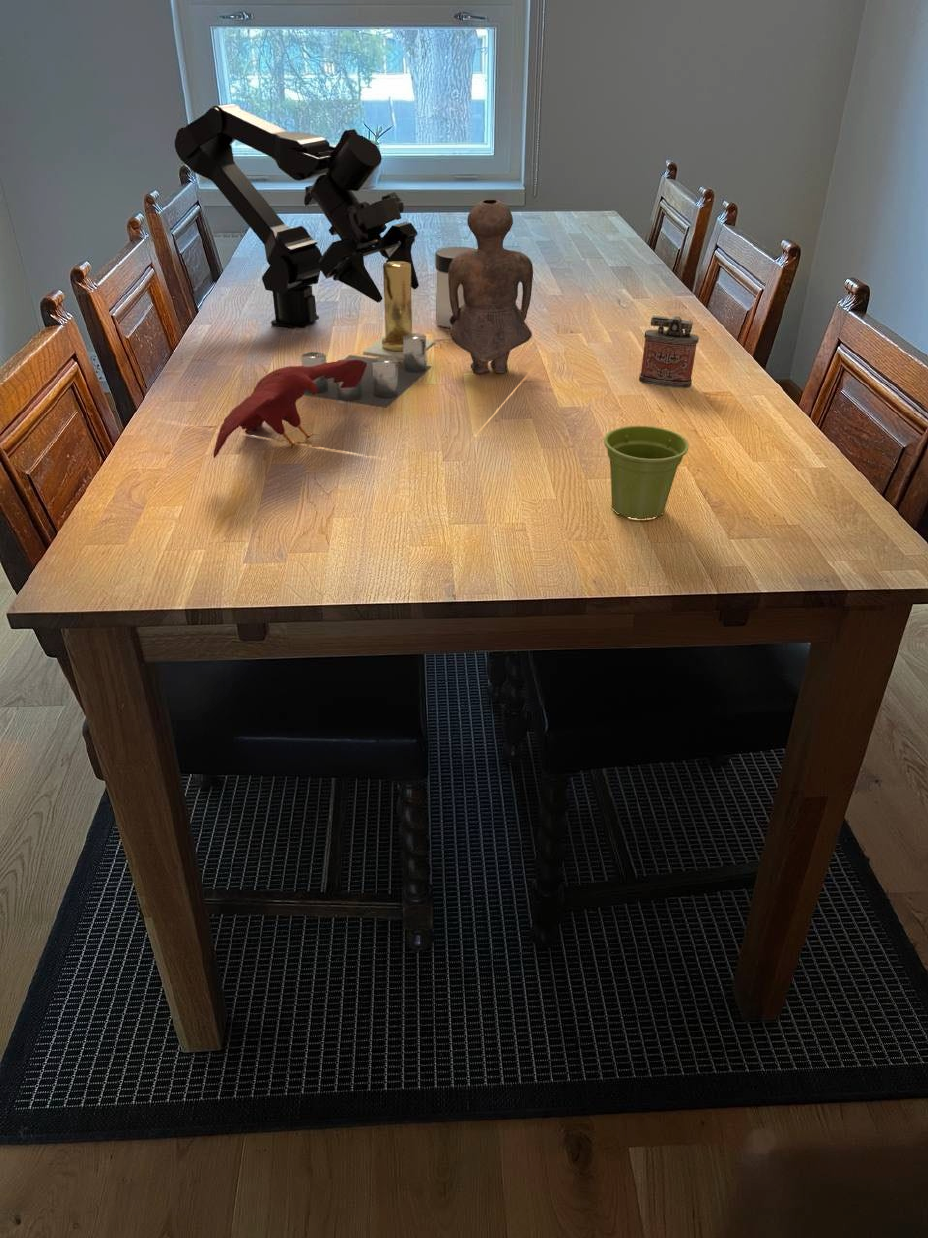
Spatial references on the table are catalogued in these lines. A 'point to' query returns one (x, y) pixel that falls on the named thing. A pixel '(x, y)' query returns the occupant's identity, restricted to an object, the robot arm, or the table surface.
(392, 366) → the spacers
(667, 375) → the lighter
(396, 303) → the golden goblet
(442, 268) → the jar
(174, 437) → the table surface
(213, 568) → the table surface
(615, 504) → the plant pot
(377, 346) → the tile
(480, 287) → the clay figurine
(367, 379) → the mat
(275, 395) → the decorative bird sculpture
